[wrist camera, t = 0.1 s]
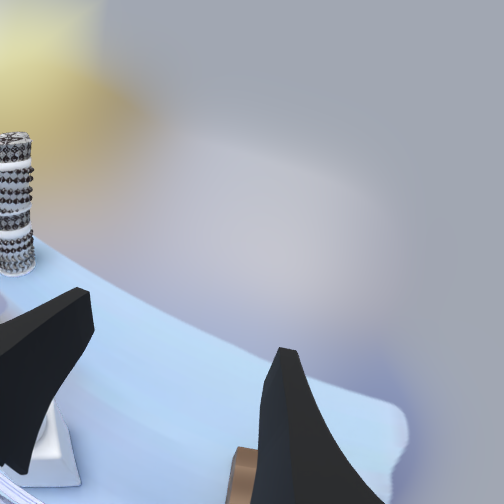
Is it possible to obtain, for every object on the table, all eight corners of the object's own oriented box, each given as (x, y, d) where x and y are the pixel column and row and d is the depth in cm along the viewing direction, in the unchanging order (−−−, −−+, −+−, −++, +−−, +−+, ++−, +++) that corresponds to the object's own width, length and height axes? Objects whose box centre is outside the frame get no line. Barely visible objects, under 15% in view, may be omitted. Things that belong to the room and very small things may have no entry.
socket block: (316, 538, 16) (330, 533, 15) (220, 532, 16) (225, 527, 15) (315, 468, 25) (326, 456, 24) (232, 458, 25) (238, 446, 24)
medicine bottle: (68, 427, 22) (38, 348, 17) (82, 486, 17) (41, 426, 12) (11, 429, 18) (-33, 349, 13) (18, 487, 13) (-44, 422, 8)
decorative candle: (6, 284, 38) (-4, 137, 28) (-8, 263, 41) (-15, 134, 31) (44, 268, 45) (44, 132, 36) (26, 251, 48) (26, 130, 39)
